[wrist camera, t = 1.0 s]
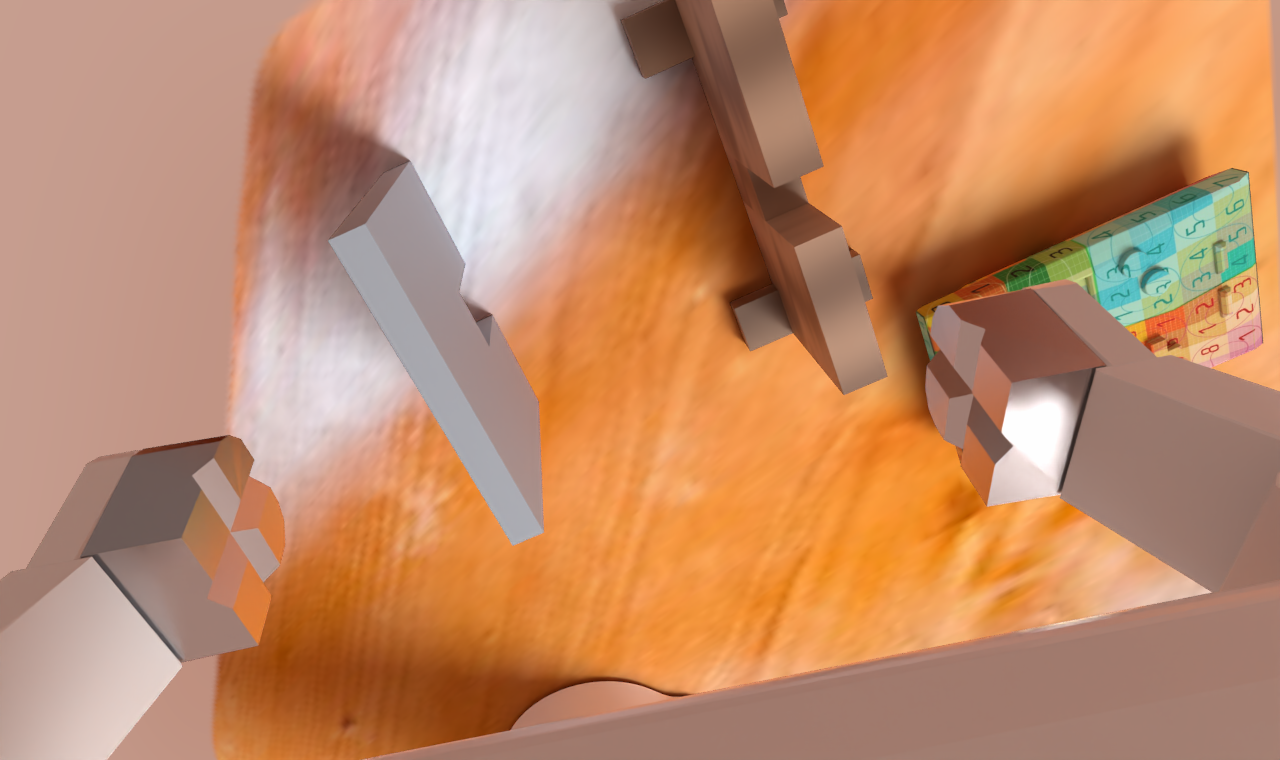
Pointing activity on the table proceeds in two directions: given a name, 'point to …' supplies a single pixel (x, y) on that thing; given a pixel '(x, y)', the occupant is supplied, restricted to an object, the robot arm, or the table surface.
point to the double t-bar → (770, 177)
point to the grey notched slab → (447, 344)
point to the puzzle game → (1156, 273)
